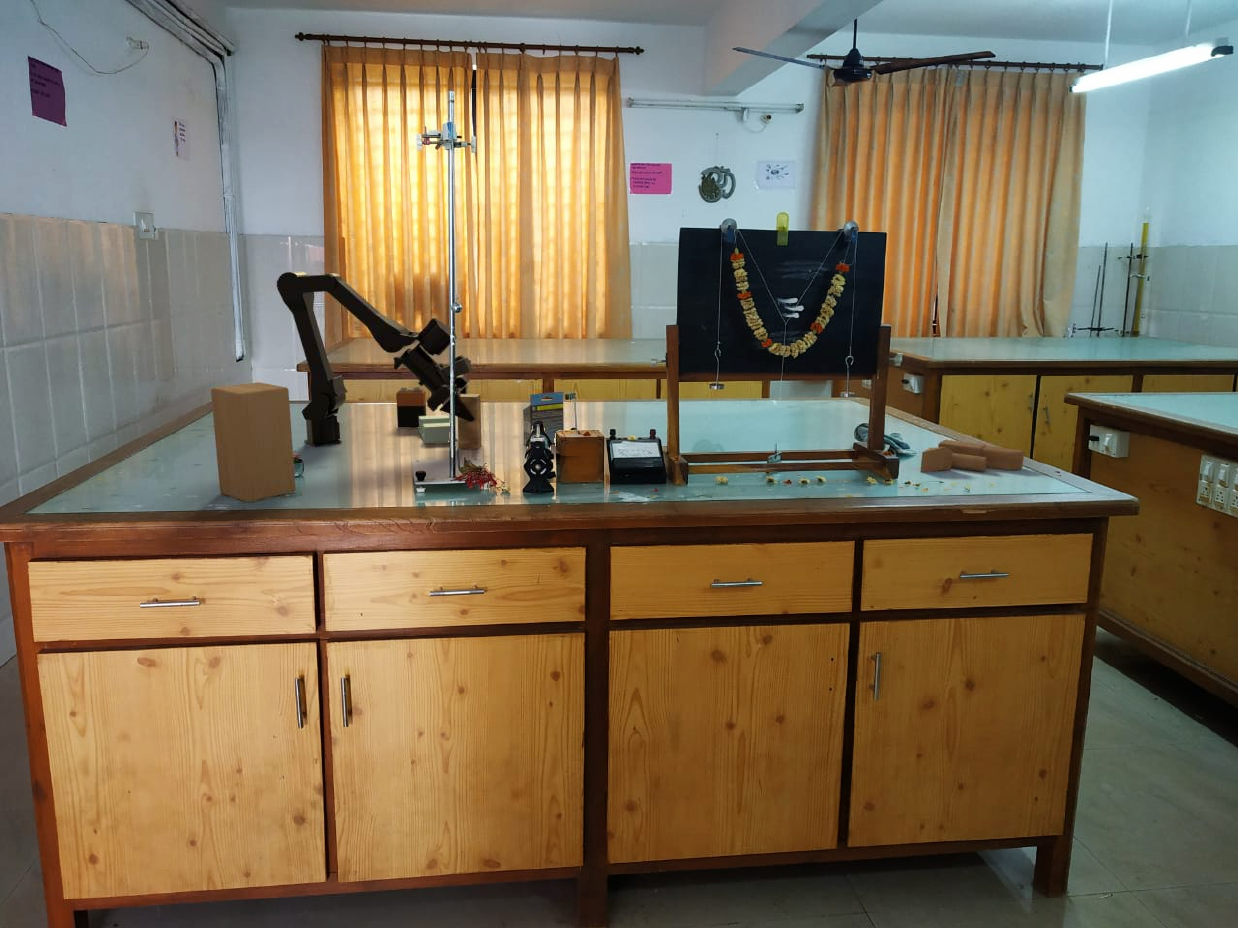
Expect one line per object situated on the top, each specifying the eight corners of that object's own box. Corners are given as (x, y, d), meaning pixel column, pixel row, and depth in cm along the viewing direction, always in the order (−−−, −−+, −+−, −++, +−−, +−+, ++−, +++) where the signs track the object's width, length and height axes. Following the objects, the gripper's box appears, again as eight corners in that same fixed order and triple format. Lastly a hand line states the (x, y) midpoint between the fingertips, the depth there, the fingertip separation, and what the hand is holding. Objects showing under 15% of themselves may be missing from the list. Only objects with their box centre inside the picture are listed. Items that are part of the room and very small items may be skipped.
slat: (458, 448, 217) (457, 396, 214) (462, 444, 220) (461, 393, 218) (478, 449, 216) (476, 397, 213) (481, 445, 220) (480, 394, 217)
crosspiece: (455, 442, 223) (454, 425, 222) (425, 444, 221) (424, 427, 220) (447, 430, 236) (447, 415, 235) (419, 432, 234) (418, 416, 233)
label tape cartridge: (556, 440, 227) (556, 389, 224) (564, 443, 224) (564, 391, 221) (523, 444, 222) (522, 392, 219) (530, 447, 219) (530, 394, 216)
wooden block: (268, 483, 185) (260, 381, 180) (296, 492, 178) (289, 387, 174) (219, 493, 177) (209, 387, 172) (247, 503, 171) (238, 393, 166)
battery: (424, 428, 239) (423, 388, 237) (397, 428, 239) (395, 388, 236) (426, 424, 243) (425, 386, 241) (400, 424, 243) (398, 386, 240)
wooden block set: (940, 434, 212) (1025, 445, 203) (938, 459, 214) (1022, 470, 204) (917, 447, 199) (1007, 459, 189) (914, 473, 200) (1004, 486, 190)
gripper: (439, 349, 204) (491, 401, 206) (459, 340, 222) (507, 388, 224) (405, 385, 206) (456, 436, 208) (427, 373, 225) (475, 420, 226)
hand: (475, 418), depth 217 cm, fingers closed on slat, 4 cm apart
